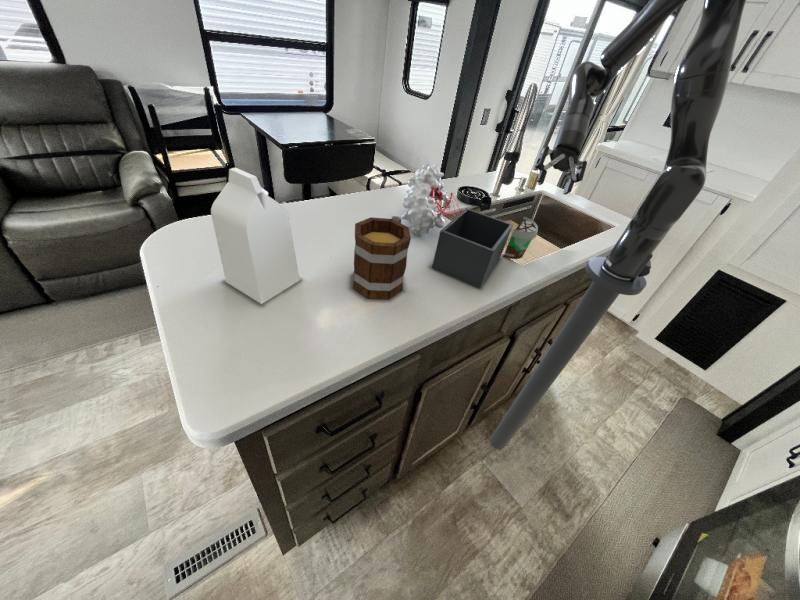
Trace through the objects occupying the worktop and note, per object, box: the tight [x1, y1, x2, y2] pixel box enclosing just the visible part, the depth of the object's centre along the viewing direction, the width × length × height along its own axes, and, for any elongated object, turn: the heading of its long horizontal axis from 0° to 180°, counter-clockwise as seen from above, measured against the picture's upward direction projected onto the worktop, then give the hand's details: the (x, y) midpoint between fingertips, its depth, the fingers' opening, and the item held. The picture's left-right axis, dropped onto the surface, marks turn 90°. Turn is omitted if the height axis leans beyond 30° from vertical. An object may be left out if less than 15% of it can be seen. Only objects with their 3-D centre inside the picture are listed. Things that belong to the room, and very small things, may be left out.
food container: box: [503, 216, 539, 260], centre depth 99 cm, size 12×6×10 cm, turn 148°
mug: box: [352, 215, 412, 300], centre depth 80 cm, size 20×14×15 cm
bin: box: [431, 207, 514, 289], centre depth 91 cm, size 15×19×12 cm
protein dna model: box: [400, 162, 463, 236], centre depth 106 cm, size 20×18×25 cm
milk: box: [210, 167, 301, 305], centre depth 69 cm, size 12×12×26 cm
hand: (553, 189), depth 96 cm, fingers open, 8 cm apart
